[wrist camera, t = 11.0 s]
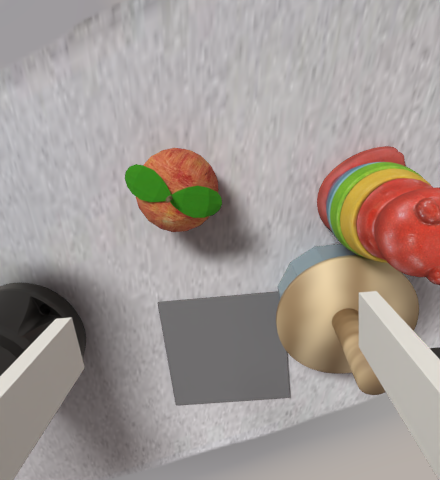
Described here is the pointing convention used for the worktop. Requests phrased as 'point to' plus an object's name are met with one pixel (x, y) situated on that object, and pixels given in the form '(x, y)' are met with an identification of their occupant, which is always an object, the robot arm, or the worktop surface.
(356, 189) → the stacking bear
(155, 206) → the fruit
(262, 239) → the worktop surface
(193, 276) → the worktop surface
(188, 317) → the mat
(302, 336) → the lid
